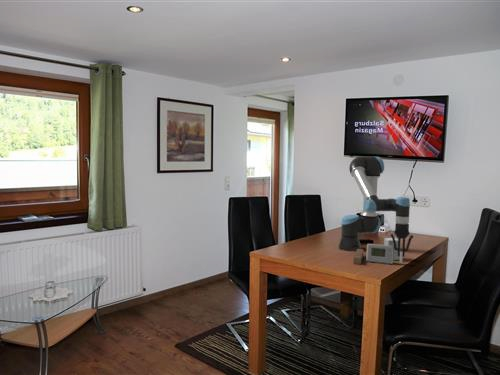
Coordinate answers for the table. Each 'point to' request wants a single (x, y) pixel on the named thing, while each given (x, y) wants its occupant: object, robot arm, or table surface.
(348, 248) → the robot arm
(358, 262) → the walnut batten
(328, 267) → the table surface
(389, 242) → the supplement box
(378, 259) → the digital clock
